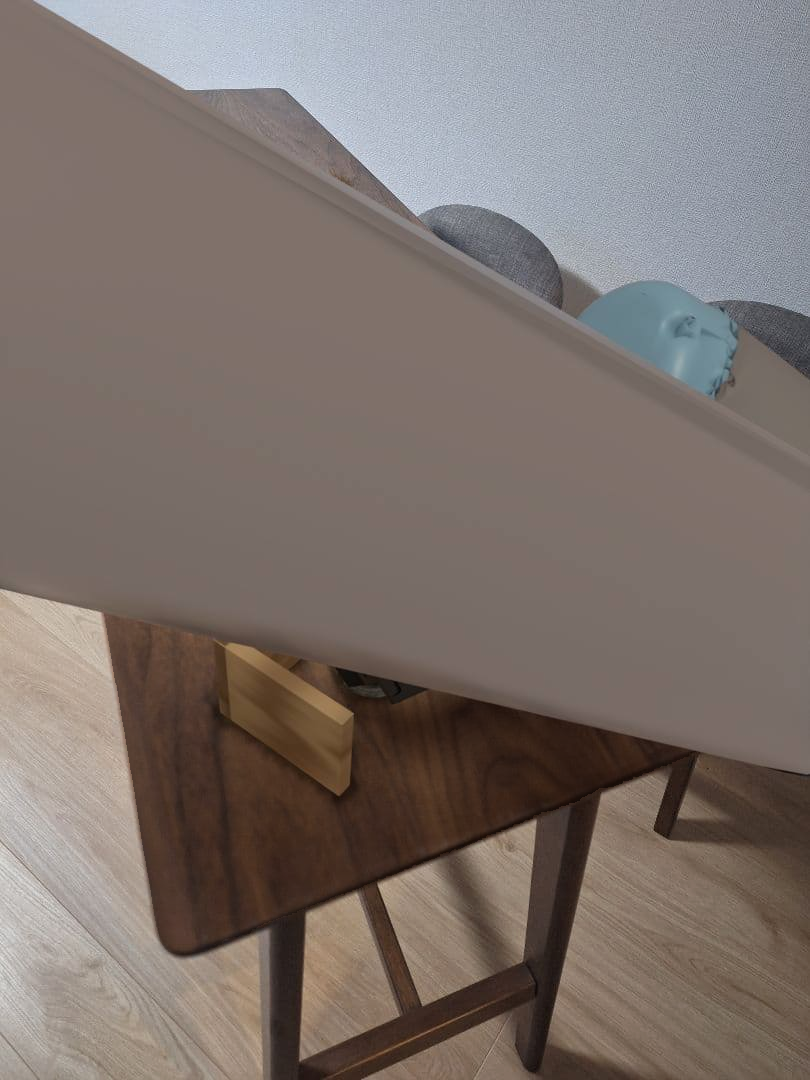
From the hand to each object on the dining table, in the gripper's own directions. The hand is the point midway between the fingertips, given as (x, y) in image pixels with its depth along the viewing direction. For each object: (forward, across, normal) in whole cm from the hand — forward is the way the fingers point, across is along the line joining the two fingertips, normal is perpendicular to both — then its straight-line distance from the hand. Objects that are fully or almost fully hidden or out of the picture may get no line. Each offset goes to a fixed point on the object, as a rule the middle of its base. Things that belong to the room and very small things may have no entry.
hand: (401, 610), depth 64 cm
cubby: (+7, 0, -4) cm, 8 cm away
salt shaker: (+7, 0, -4) cm, 9 cm away
